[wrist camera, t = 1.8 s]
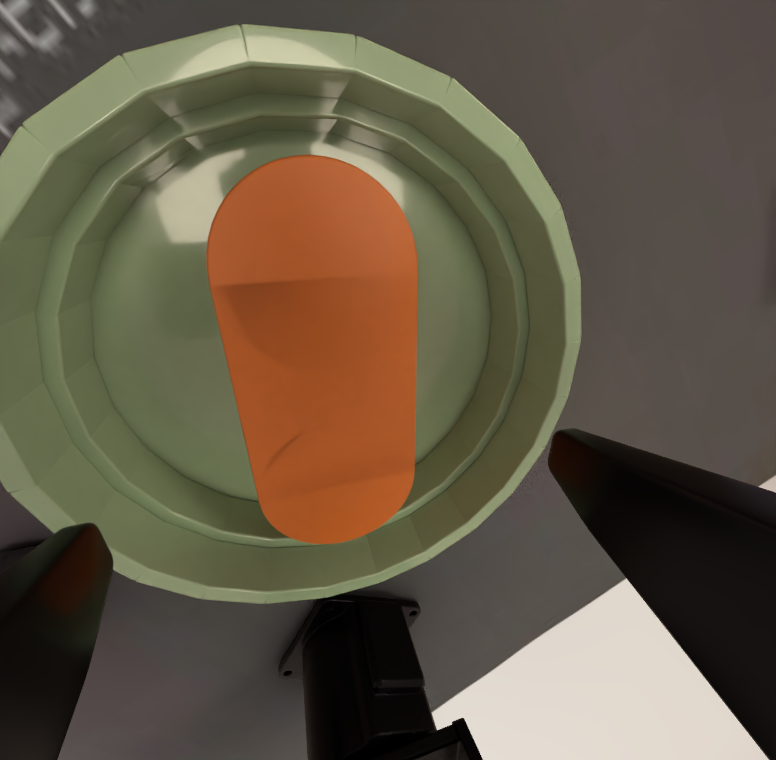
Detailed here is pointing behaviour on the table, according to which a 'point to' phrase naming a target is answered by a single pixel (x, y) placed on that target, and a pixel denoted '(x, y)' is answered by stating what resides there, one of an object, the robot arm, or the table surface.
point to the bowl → (198, 317)
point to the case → (319, 342)
